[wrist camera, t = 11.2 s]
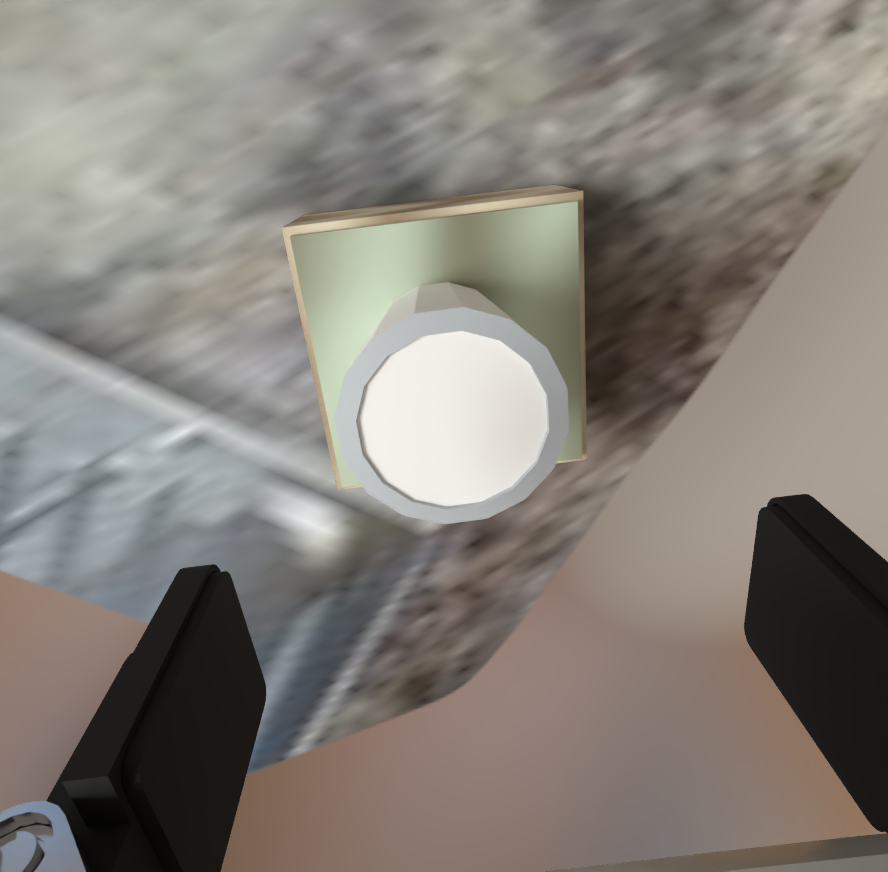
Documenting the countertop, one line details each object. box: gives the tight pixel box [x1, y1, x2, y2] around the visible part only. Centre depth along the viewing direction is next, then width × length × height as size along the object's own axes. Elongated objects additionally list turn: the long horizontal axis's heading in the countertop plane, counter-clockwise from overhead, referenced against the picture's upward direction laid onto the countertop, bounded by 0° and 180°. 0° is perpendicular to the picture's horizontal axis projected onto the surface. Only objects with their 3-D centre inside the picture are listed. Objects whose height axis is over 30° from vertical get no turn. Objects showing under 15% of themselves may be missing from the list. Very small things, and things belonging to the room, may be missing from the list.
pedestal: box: [282, 185, 587, 490], centre depth 27 cm, size 11×11×5 cm
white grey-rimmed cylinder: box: [335, 282, 569, 524], centre depth 21 cm, size 7×7×7 cm
